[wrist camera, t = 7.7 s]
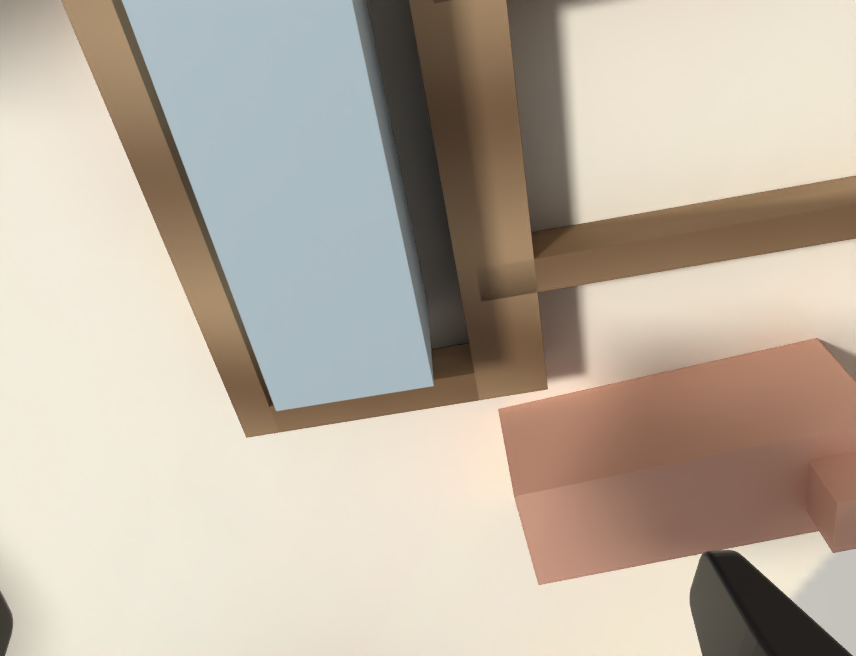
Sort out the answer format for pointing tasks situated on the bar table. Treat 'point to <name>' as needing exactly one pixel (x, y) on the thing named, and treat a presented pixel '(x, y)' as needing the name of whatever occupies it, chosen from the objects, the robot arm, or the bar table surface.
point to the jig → (466, 212)
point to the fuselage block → (686, 462)
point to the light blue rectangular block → (296, 187)
